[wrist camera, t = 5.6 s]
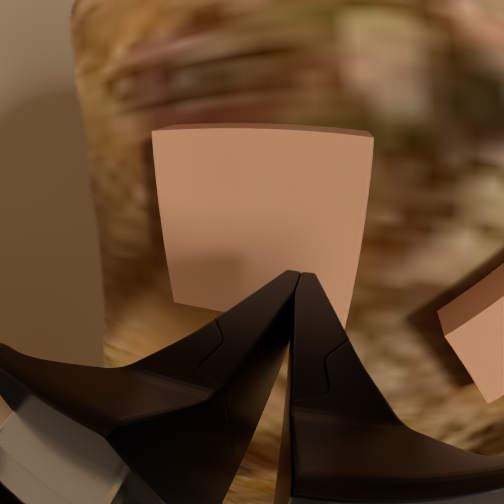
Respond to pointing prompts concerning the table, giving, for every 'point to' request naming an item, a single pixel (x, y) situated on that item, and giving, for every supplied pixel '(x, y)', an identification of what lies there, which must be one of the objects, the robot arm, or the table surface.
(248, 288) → the tile
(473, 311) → the flat tile
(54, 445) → the robot arm
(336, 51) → the table surface
